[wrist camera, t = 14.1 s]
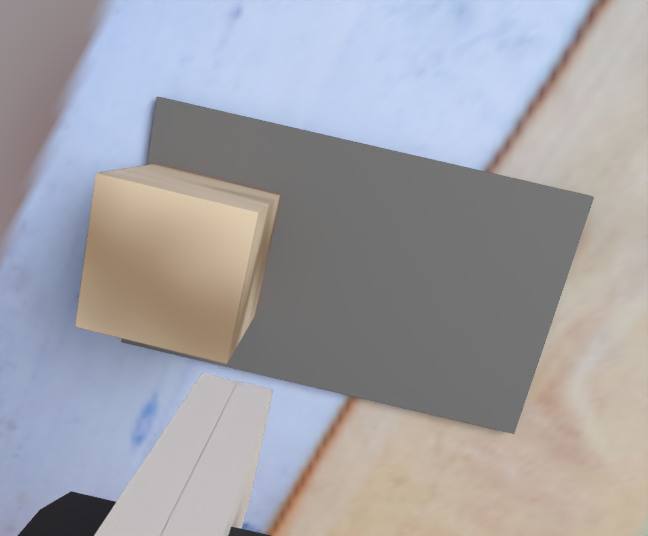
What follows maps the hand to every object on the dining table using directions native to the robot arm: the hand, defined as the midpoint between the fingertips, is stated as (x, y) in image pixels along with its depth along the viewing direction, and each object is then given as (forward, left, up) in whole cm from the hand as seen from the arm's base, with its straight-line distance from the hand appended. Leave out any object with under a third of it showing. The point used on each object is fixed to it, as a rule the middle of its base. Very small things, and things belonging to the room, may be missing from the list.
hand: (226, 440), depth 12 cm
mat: (0, -2, -16) cm, 16 cm away
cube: (0, +5, -10) cm, 11 cm away
